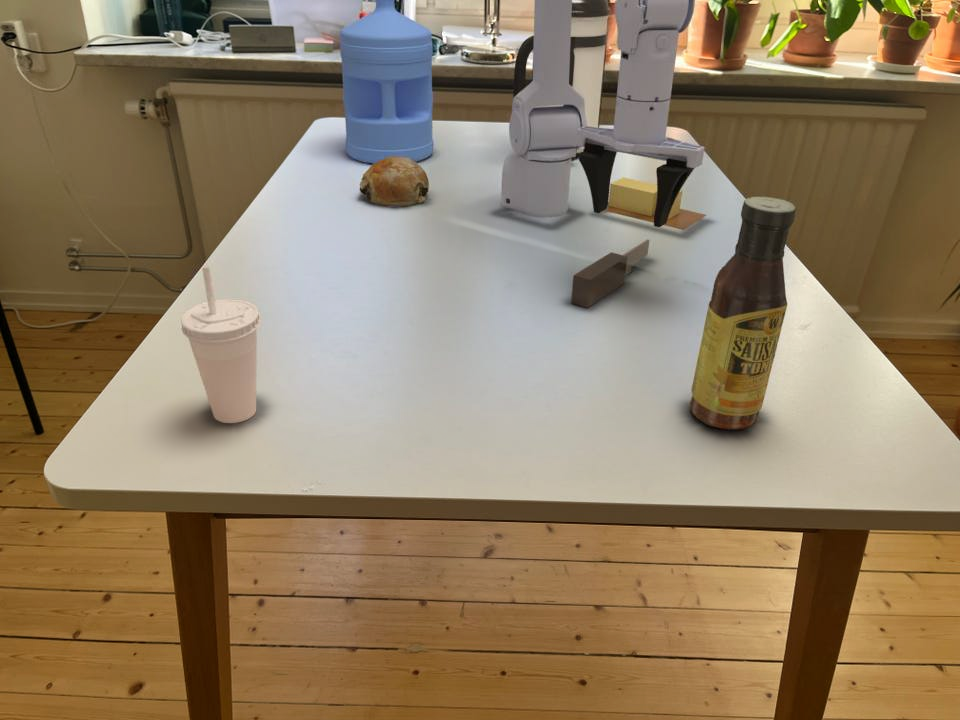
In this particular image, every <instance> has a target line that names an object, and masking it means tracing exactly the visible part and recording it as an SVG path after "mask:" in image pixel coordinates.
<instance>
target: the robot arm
mask: <svg viewBox="0 0 960 720" xmlns="http://www.w3.org/2000/svg"><path fill="white" fill-rule="evenodd" d="M533 4H534V5H533V6H534V9H533V10H534V12H533V17H534V20H533V35H534V52H533V51H532V68H533V81H532V80H531V82H530V83H529V84H528V85H526V86H525V88H524V89H523V90H522V91H521V92H519V93H518V94H517V95H516V96H515V97H514V98H513V97H512V106H511V114H510V118H509V122H508V123H509V124H508V135H509V142H510V144H511V147H512V150H511V151H510V152H509V153H508V154H507V155H506V157H505V159H504V162H503V165H502V170H501V194H500V195H501V196H500V197H501V198H500V206H501V207H503V208H506V209H510V210H514V211H518V212H520V213H523V214H524V215H528V216H531V217H537V218H539V217H540V218H553V217H559V216H562V215H565V214H566V213H568V207H569V195H570V194H569V193H570V181H571V169H572V168H571V167H572V158H575V157H577V153H576V151H577V150H579V149H580V148H581V147H584V149H583V152H581V153H578V161H579V163H580V165H581V167H582V169H583V171H584V173H585V176H586V179H587V183H588V186H589V190H590V195H591V199H592V209H593V213H595V214H600V213H602V212H605V211H604V210H605V209H607V205H608V202H609V194H610V184H611V178H612V173H613V170H614V169H613V168H614V165H615V160H616V156H617V153H621V154H627V155H632V156H637V157H642V158H647V159H654V160H658V161H663V162H665V163H663V164H662V165H659V166H657V167H656V171H655V174H656V185H657V202H656V208H655V215H654V223H653V227H655V228H661V227H663V226H665V225H664V224H666V223H667V220H668V216H669V214H670V211H671V208H672V206H673V204H674V201H675V199H676V197H677V195H678V193H679V191H680V190H682V188H683V186H684V185H685V183H686V182H687V180H688V178H689V177H690V176H691V175H692V173H693V171H694V170H695V169H696V168H698V167H700V166H701V165H703V160H704V153H705V148H706V147H705V146H702V145H697V144H693V143H689V142H687V141H686V142H685V141H682V140H679V139H676V138H672V137H670V136H669V137H668V136H666V135H667V127H668V121H669V120H668V119H669V113H670V107H671V97H672V90H673V82H674V74H675V68H676V67H675V66H676V60H677V51H678V43H679V36H680V34H681V33H684V32H685V31H686V30H687V29H688V27H689V25H690V24H691V22H692V19H693V15H694V11H695V6H696V0H615V1H614V17H615V23H616V28H617V35H616V36H617V37H616V44H617V50H619V51H620V59H619V70H618V71H619V72H618V79H617V90H616V97H615V98H616V99H615V110H614V119H613V128H609V127H608V128H607V127H599V128H597V127H589V126H587V121H586V116H585V102H584V98H583V97H582V95H581V94H580V93H579V92H577V91H576V90H575V89H574V88H573V87H572V86H570V85H569V65H570V40H571V14H572V0H534V3H533ZM548 105H566V106H557V107H537V106H548ZM535 107H537V108H535Z"/></svg>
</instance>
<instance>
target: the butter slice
mask: <svg viewBox="0 0 960 720" xmlns="http://www.w3.org/2000/svg"><path fill="white" fill-rule="evenodd" d="M682 196H683V189H681V190H680V191H679V193H678V195H677V197H676V199H675V201H674V204H673V206H672V208H671V211H670V214H669V216H668V220H669V219H670V218H672V217H674V216H675V215H677V214H679V211H680V209H681V204H682Z"/></svg>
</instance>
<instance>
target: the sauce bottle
mask: <svg viewBox="0 0 960 720" xmlns="http://www.w3.org/2000/svg"><path fill="white" fill-rule="evenodd" d="M740 211H741V212H740V217H741V225H740V229H739V233H738V239H737V243H736V244H735V247H734V248H735V249H734V254H733V255H732V256H731V257H730V259H729V260H727V262H726V263H725V264H724V266H722V267H721V268H720V270H718V273H717V274H716V277H715V280H714V283H713V288H712V293H711V297H710V300H709V302H708V307H707V313H706V316H705V322H704V326H703V332H702V336H701V342H700V346H699V350H698V355H697V360H696V366H695V370H694V376H693V381H692V385H691V389H690V390H691V395H692V396H691V399H690V401H689V406H690V407H689V408H690V411H691V413H692V415H693V416H694V417H695V418H696V419H698V420H699V421H700V422H702V423H703V424H704V425H707V426H709V427H714V428H718V429H721V430H730V431H731V430H732V431H733V430H734V431H735V430H742V429H743V430H744V429H746V428H749V427H750V426H751V425H753V424H754V423H755V422H756V420H757V418H758V417H759V414H760V411H761V410H762V408H763V405H764V400H765V396H766V393H767V388H768V385H769V380H770V375H771V372H772V368H773V364H774V361H775V357H776V352H777V348H778V344H779V341H780V336H781V332H782V327H783V324H784V320H785V316H786V312H787V309H788V299H787V294H786V281H785V270H784V257H785V248H786V243H787V240H788V235H789V230H790V228H791V227H792V225H793V224H794V221H795V216H796V211H797V209H796V206H795V205H794V204H793V203H792V202H790V201H788V200H784V199H782V198H776V197H775V198H774V197H771V196H770V197H769V196H751V197H747V198H745V199H744V201H743V203H742V207H741V210H740Z"/></svg>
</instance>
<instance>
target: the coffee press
mask: <svg viewBox="0 0 960 720" xmlns="http://www.w3.org/2000/svg"><path fill="white" fill-rule="evenodd" d="M611 11H612V9H611V7H609V1H608V0H572V14H571V40H570V65H569V85H570V86H572V87H573V88H574V89H575V90H576V91H577V92H579V93H580V94H581V95H582V97H583V98H584V102H585V116H586V121H587V126H589V127H597V128H600V122H601V114H602V113H601V112H602V101H603V92H604V91H603V89H604V79H605V78H604V77H605V68H606V56H607V47H608V45H607V44H608V34H609V33H608V31H607V29H608V19H609V17H610V15H611ZM531 52H532V53H533V52H534V34H533V35H531V36H529V37H528V38H526V39H525V40H524V41H523V42H521V45H520V46H519V48H518V51H517V54H516V57H515V63H514V72H513V95H512V99H513V98H514V97H515V96H516V95H517V94H518V93H519V92H521V91H522V90H523V89H524V88H526V79H527V78H526V75H527V65H528V64H527V63H528V59H529V58H530V57H529V56H530V54H531ZM531 70H532V71H531V72H532V73H531V82H532V81H533V67H532V69H531ZM557 106H566V105H548V106H537V107H557ZM537 107H535V108H537ZM583 149H584V147H581V148H580V149H579V150H577V151H576V154H579V153H581V152H583Z"/></svg>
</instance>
